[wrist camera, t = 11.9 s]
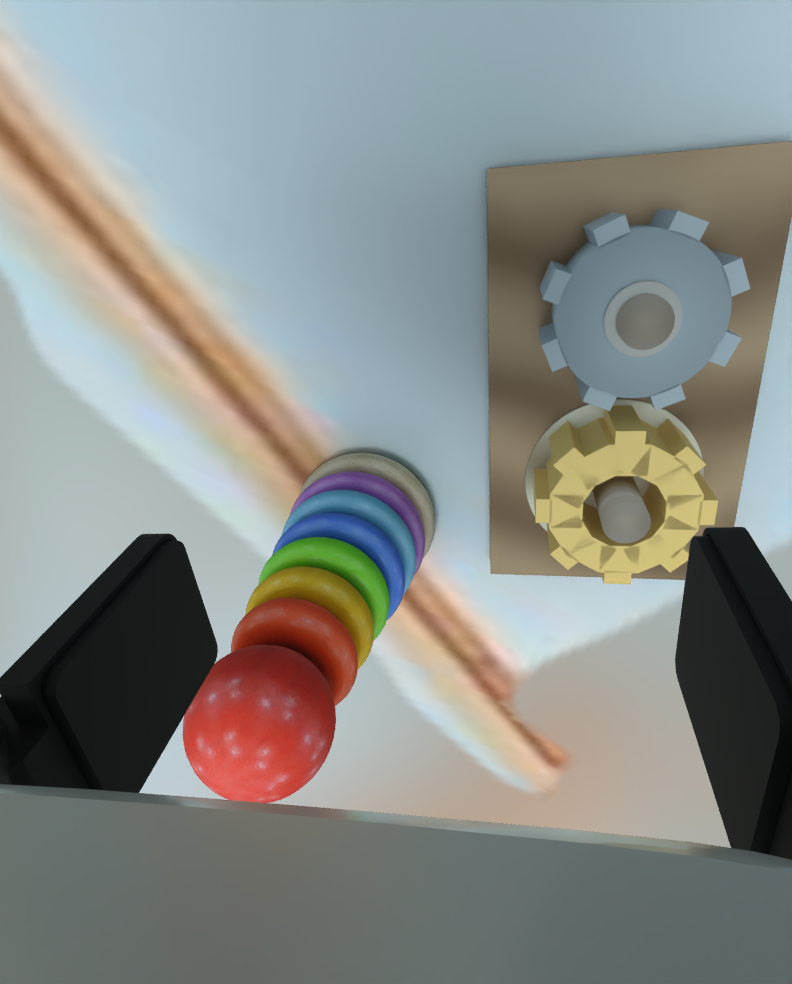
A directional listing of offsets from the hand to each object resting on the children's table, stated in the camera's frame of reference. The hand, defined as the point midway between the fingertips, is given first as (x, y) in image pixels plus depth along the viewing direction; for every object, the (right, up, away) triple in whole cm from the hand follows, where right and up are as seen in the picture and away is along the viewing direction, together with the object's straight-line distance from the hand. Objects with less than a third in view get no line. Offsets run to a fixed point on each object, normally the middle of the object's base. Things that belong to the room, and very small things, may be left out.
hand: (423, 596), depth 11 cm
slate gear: (+10, +10, +15) cm, 21 cm away
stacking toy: (-2, +1, +24) cm, 24 cm away
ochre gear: (+10, +3, +19) cm, 22 cm away
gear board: (+10, +7, +19) cm, 22 cm away
